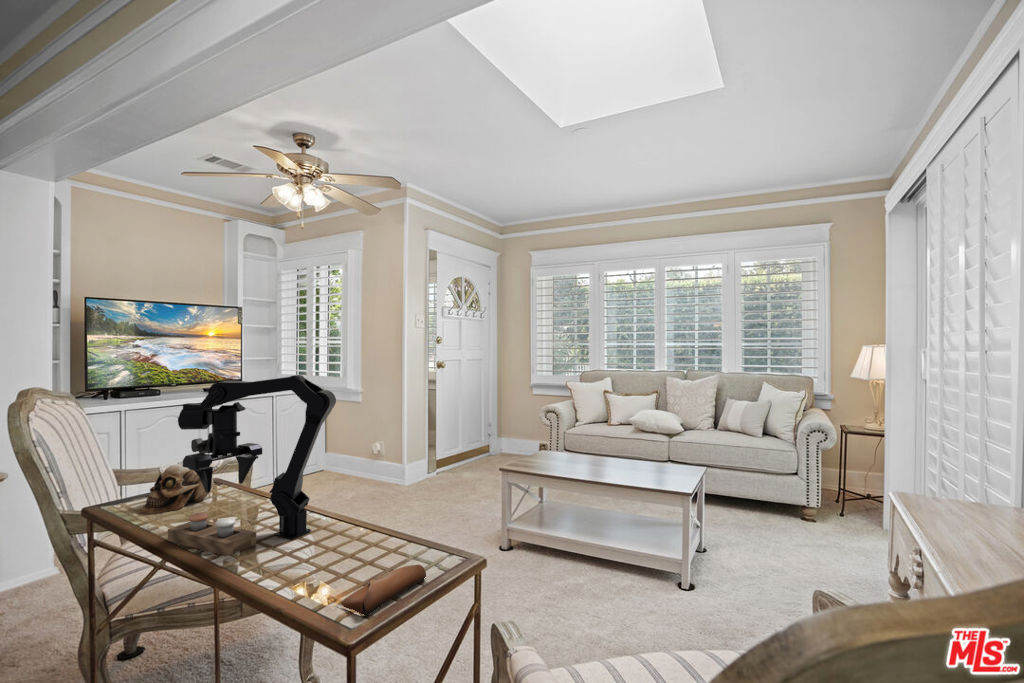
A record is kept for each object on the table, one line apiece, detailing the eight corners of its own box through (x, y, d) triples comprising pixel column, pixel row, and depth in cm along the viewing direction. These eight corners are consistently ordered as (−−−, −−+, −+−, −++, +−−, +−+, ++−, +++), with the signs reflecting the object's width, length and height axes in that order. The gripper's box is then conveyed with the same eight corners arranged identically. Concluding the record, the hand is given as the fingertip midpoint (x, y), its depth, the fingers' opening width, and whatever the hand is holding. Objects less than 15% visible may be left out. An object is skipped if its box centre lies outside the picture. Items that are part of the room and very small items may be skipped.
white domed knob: (239, 533, 127) (239, 519, 127) (223, 539, 123) (223, 525, 123) (227, 531, 129) (227, 516, 129) (211, 537, 125) (211, 522, 125)
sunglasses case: (396, 571, 114) (408, 548, 112) (417, 593, 111) (430, 571, 109) (333, 607, 98) (346, 582, 96) (355, 635, 95) (369, 609, 93)
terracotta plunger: (212, 527, 131) (212, 513, 131) (195, 533, 127) (196, 519, 127) (201, 524, 133) (201, 511, 133) (184, 530, 129) (184, 516, 129)
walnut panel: (256, 544, 128) (256, 532, 128) (227, 556, 120) (227, 543, 120) (197, 530, 136) (198, 519, 136) (167, 540, 129) (167, 529, 129)
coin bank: (134, 514, 148) (139, 467, 149) (165, 502, 165) (170, 460, 166) (191, 514, 150) (196, 468, 151) (217, 502, 167) (221, 461, 168)
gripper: (237, 421, 145) (237, 475, 145) (169, 432, 128) (169, 493, 128) (263, 424, 140) (263, 480, 140) (196, 435, 123) (196, 499, 123)
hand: (224, 487), depth 133 cm, fingers open, 9 cm apart
